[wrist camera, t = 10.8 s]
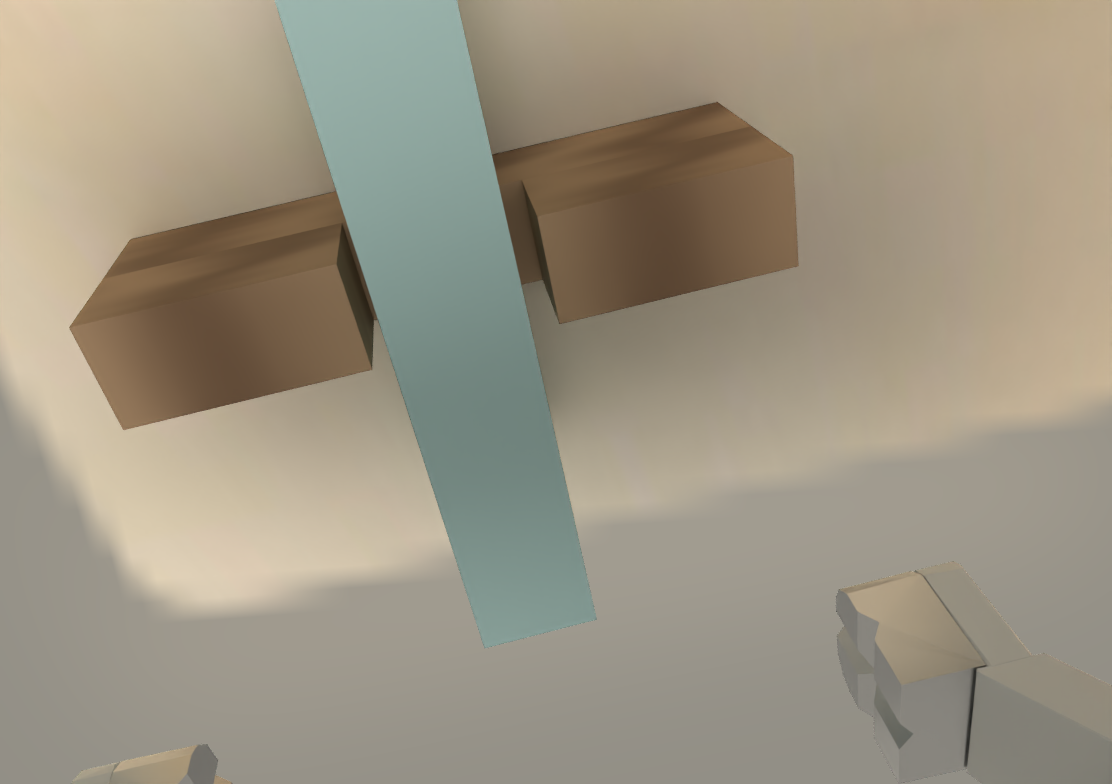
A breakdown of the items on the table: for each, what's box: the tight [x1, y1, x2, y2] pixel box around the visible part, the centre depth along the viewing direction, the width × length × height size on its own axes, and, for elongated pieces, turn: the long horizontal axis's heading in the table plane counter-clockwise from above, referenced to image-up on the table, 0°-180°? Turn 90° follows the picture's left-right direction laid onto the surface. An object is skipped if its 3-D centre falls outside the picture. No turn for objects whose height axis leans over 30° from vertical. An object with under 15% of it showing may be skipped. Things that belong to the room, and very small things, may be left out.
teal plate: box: [275, 0, 596, 648], centre depth 24 cm, size 3×16×10 cm, turn 11°
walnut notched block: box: [69, 102, 798, 430], centre depth 25 cm, size 18×3×6 cm, turn 101°
